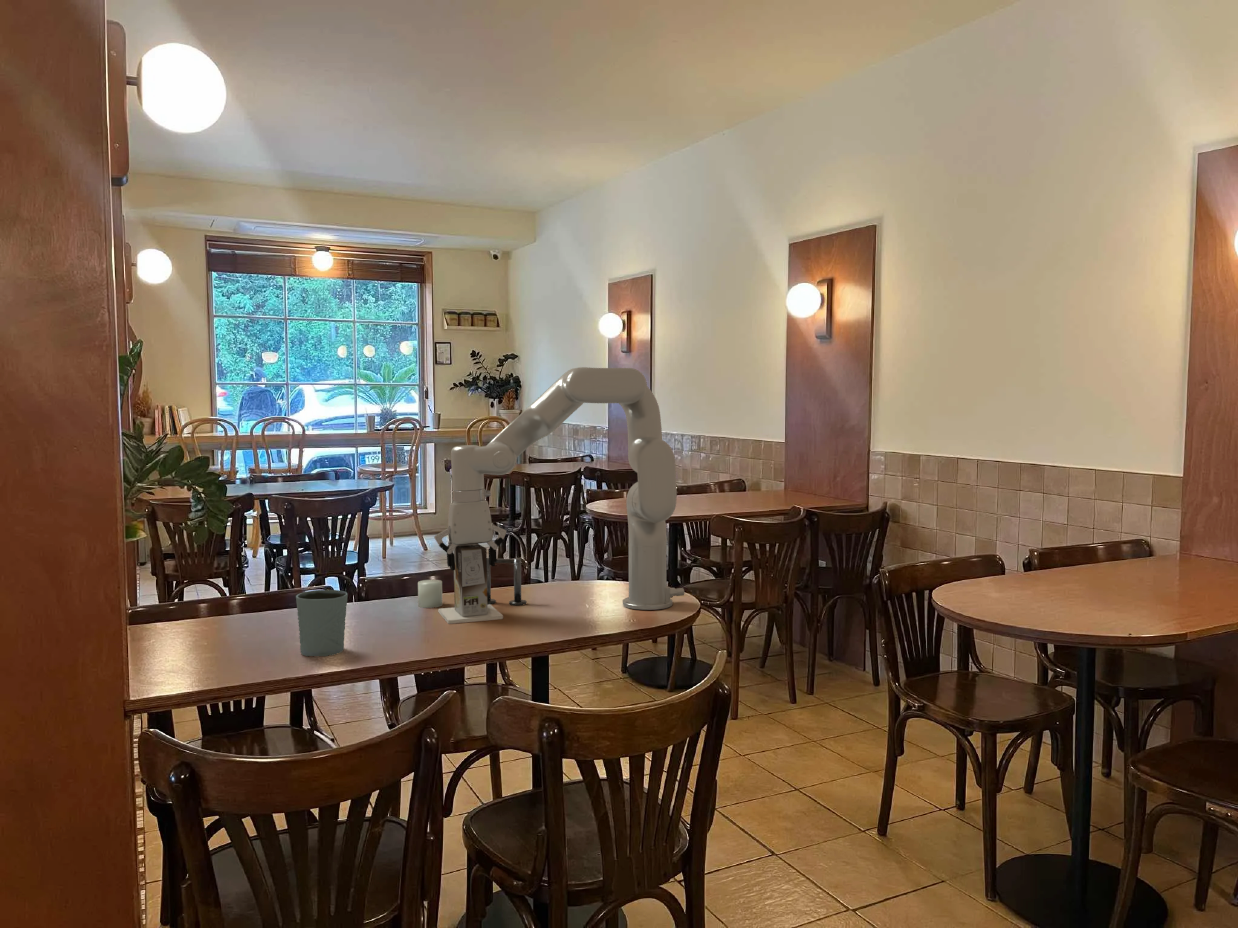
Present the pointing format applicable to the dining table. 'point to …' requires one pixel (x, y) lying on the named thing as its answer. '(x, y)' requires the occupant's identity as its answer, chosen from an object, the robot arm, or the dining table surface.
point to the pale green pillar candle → (430, 593)
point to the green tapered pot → (321, 621)
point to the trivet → (455, 617)
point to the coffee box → (470, 580)
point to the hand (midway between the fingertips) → (472, 567)
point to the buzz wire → (517, 582)
